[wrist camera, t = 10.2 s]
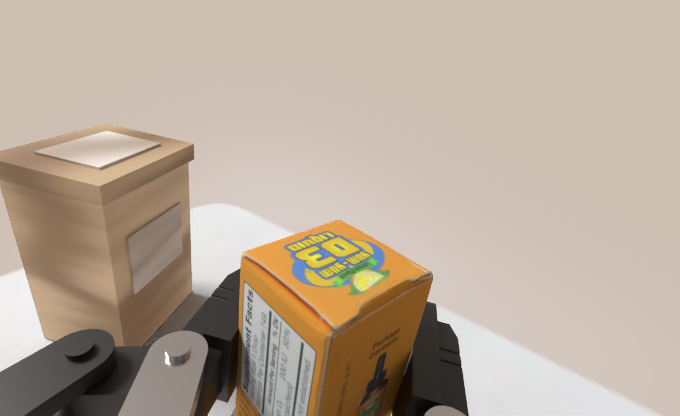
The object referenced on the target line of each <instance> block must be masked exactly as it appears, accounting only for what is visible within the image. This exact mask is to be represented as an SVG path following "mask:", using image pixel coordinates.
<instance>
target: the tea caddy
mask: <svg viewBox="0 0 680 416" xmlns="http://www.w3.org/2000/svg"><path fill="white" fill-rule="evenodd" d="M193 159H194V145H193V144H191V143H187V142H183V141H179V140H174V139H170V138H165V137H161V136H157V135H153V134H148V133H144V132H140V131H135V130H131V129H127V128H122V127H118V126H114V125H109V124H103V125H99V126H96V127H92V128H88V129H84V130H80V131H76V132H73V133H69V134H65V135H61V136H57V137H53V138H50V139H46V140H42V141H38V142H34V143H30V144H27V145H23V146H19V147H15V148H11V149H8V150H3V151H0V187H1V191H2V194H3V197H4V201H5V204H6V207H7V211H8V214H9V218H10V221H11V225H12V228H13V232H14V235H15V238H16V242H17V245H18V248H19V252H20V255H21V259H22V262H23V265H24V269H25V272H26V276H27V279H28V283H29V286H30V289H31V293H32V296H33V300H34V303H35V307H36V310H37V313H38V317H39V320H40V324H41V327H42V330H43V334H44V337H45V338H47V339H50V340H53V341H57V340H59V339H60V338H62V337H64V336H66V335H68V334H71V333H73V332H76V331H80V330H85V329H100V330H104V331H107V332H108V333H110V334H111V335H112V336H113V338H114V341H115V346H143V345H144V344H145V343H146V342H147V341H148V339H149V338H150V337H151V336H152V335H153V334H154V333H155V332H156V331H157V330H158V328H159V327H160V326H161V325H162V324H163V323H164V322H165V321H166V320H167V319H168V317H169V316H170V315H171V314H172V313H173V312H174V311H175V310H176V309H177V308H178V306H179V305H180V304H181V303H182V302H183V301H184V300H185V299H186V298H187V297H188V295H189V294H190V293H191V292H192V272H191V240H190V208H189V176H188V162H190V161H191V160H193Z"/></svg>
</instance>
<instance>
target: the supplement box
mask: <svg viewBox="0 0 680 416" xmlns="http://www.w3.org/2000/svg"><path fill="white" fill-rule="evenodd" d="M432 281H433V274H432V272H430V271H428V270H427V269H425V268H423V267H421V266H420V265H418V264H416V263H414V262H412V261H411V260H409V259H408V258H406V257H404V256H403V255H401V254H399V253H397V252H396V251H394V250H393V249H391V248H389V247H388V246H386V245H384V244H383V243H381V242H379V241H377V240H375V239H374V238H372V237H370V236H369V235H367V234H365V233H363V232H362V231H360V230H358V229H356V228H354V227H352V226H350V225H348V224H346V223H345V222H343V221H340V220H337V221H333V222H330V223H327V224H325V225H322V226H319V227H316V228H313V229H310V230H307V231H305V232H302V233H298V234H295V235H293V236H289V237H286V238H284V239H281V240H278V241H275V242H272V243H269V244H266V245H263V246H260V247H257V248H254V249H251V250H248V251H245V252H243V254H242V256H241V271H240V295H239V335H238V359H237V393H236V412H235V416H391V414H392V409H393V406H394V403H395V400H396V397H397V394H398V391H399V388H400V385H401V382H402V379H403V376H404V373H405V369H406V366H407V363H408V360H409V357H410V354H411V350H412V347H413V344H414V341H415V338H416V334H417V331H418V328H419V324H420V321H421V318H422V315H423V312H424V309H425V305H426V302H427V298H428V295H429V291H430V287H431V284H432Z"/></svg>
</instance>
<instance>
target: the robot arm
mask: <svg viewBox="0 0 680 416" xmlns="http://www.w3.org/2000/svg"><path fill="white" fill-rule="evenodd" d="M240 271H241V268H240V269H238V270H237V271H235V272H233V273H231V274H229V275H228V276H227V277H226V278H225V279H224V281H223V282H222V283H221V284H220V285H219V288H217V289H216V290H215V291H214V293H213V294H212V296H211V297H209V299H208V300H207V301H206V302H205V303H204V305H203V306H202V307H201V308H200V309H199V311H198V312H197V313H196V314H195V315H194V317H193V318H192V319H191V320H190V321H189V323H188V324H187V325H186V326H185V327H184V329H183V330H182V331H176V332H172V333H169V334H167V335H165V336H163V337H161V338H159V339H158V340H157V341H156V342H155V343H154V344H153V345H151V346H115V341H114V338H113V336H112V335H111V334H110V333H108V332H107V331H104V330H100V329H85V330H80V331H76V332H73V333H71V334H68V335H66V336H64V337H62V338H60V339H59V340H57V341H55V342H53V343H51V344H50V345H48V346H46V347H44V348H43V349H41V350H39V351H37V352H35V353H34V354H32V355H30V356H28V357H26V358H25V359H23V360H21V361H19V362H17V363H16V364H14V365H12V366H10V367H8V368H7V369H5V370H3V371H1V372H0V416H208V413H209V411H210V409H211V408H212V406H213V404H214V402H215V401H216V399H218V400H221V401H224V402H227V403H228V401H229V399H230V397H231V395H232V393H233V391H234V389H235V388H236V386H237V359H238V335H239V295H240ZM459 354H460V351H459V344H458V338H457V336H456V335H455V333H454V331H453V330H452V328H451V326H450V325H449V324H446V323H442V322H439V321H437V310H436V304H434V303H431V302H426V305H425V309H424V312H423V315H422V318H421V321H420V324H419V328H418V331H417V334H416V338H415V341H414V344H413V347H412V350H411V354H410V357H409V360H408V363H407V366H406V369H405V373H404V376H403V379H402V382H401V385H400V388H399V391H398V394H397V397H396V400H395V403H394V406H393V409H392V416H469V415H468V408H467V401H466V394H465V387H464V380H463V372H462V368H461V358H460V356H459Z"/></svg>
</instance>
